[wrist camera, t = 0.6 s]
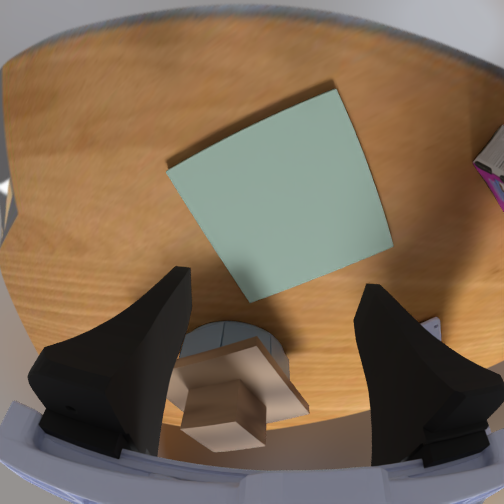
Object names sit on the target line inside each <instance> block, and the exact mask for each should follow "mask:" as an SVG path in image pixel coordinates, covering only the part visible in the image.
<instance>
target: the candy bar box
mask: <svg viewBox="0 0 504 504" xmlns="http://www.w3.org/2000/svg"><path fill="white" fill-rule="evenodd" d="M473 165H474V166H475V168H476V169H477V170H478V172H479V173H480V175H481V176H482V178H483V179H484V181H485V182H486V184H487V185H488V187H489V189H490V190H491V192H492V193H493V195H494V197H495V198H496V200H497V202H498V203H499V205H500V207H501V208H502V210H503V212H504V125H502V126H501V127H500V128H499V129H498V130H497V131H496V132H495V134H494V135H493V137H492V138H491V140H490V141H489V143H488V144H487V145H486V146H485V147H484V149H483V150H482V151H481V152H480V153H479V155H478V156H477V157H476V159H475V160H474V161H473Z"/></svg>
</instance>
